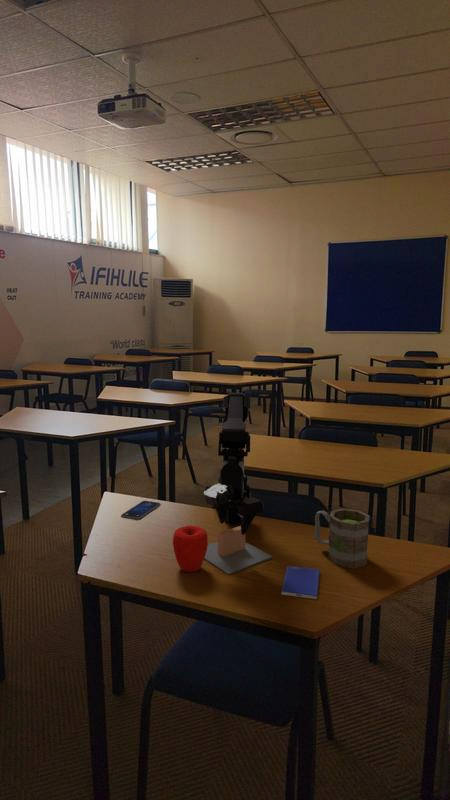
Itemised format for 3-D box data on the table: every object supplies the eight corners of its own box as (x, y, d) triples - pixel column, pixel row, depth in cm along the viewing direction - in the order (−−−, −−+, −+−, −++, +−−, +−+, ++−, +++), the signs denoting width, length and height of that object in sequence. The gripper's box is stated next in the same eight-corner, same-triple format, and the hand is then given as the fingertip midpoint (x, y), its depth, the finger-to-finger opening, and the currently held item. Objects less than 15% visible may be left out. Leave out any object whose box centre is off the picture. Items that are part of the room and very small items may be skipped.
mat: (234, 537, 148) (234, 536, 148) (272, 557, 135) (272, 556, 135) (192, 551, 139) (192, 550, 139) (228, 574, 126) (228, 573, 126)
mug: (375, 558, 136) (378, 515, 134) (356, 572, 128) (358, 527, 126) (324, 540, 146) (326, 501, 144) (303, 553, 138) (305, 511, 136)
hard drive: (287, 565, 129) (281, 590, 117) (319, 569, 127) (317, 595, 115) (287, 571, 129) (281, 596, 118) (319, 575, 128) (316, 601, 116)
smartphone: (119, 515, 162) (143, 500, 176) (119, 518, 162) (143, 502, 176) (139, 518, 160) (161, 502, 173) (139, 521, 160) (162, 505, 173)
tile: (240, 545, 141) (240, 525, 140) (245, 548, 140) (245, 528, 139) (217, 553, 137) (217, 532, 136) (222, 556, 135) (222, 535, 134)
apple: (201, 558, 135) (202, 519, 133) (212, 573, 127) (212, 532, 125) (169, 563, 132) (169, 523, 130) (178, 579, 124) (177, 537, 122)
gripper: (188, 470, 137) (188, 524, 139) (231, 488, 122) (231, 549, 125) (221, 463, 144) (220, 515, 146) (265, 479, 129) (264, 537, 132)
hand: (232, 528), depth 137 cm, fingers open, 9 cm apart
